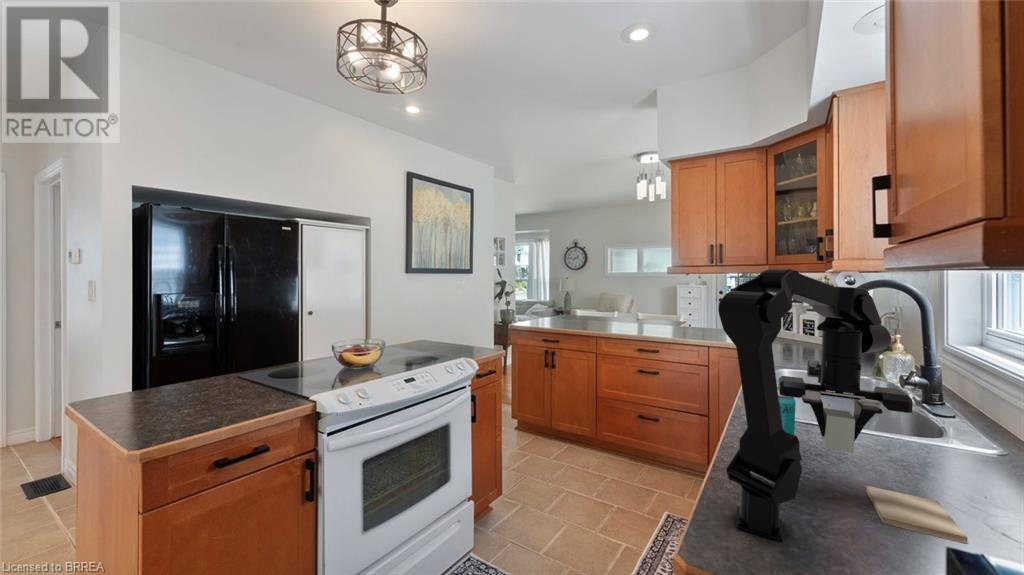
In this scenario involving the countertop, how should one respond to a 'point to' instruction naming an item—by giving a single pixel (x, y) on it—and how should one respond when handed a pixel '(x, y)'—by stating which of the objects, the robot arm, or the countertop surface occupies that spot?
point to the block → (839, 430)
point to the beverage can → (787, 413)
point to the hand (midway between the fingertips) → (837, 438)
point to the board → (915, 514)
